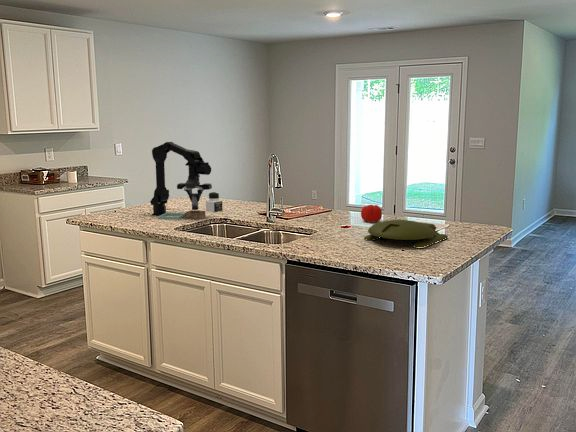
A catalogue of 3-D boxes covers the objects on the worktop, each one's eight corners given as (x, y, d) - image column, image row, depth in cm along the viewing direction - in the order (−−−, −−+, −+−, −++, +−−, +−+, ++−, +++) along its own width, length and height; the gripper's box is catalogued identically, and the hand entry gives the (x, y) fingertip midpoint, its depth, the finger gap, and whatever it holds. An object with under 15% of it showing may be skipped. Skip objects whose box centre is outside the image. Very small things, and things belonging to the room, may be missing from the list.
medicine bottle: (214, 213, 338) (213, 193, 336) (205, 212, 342) (205, 192, 340) (222, 212, 344) (222, 192, 341) (214, 210, 348) (213, 191, 346)
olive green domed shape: (392, 230, 291) (392, 212, 290) (449, 239, 272) (450, 219, 270) (355, 243, 265) (355, 222, 263) (415, 253, 246) (416, 231, 244)
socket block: (185, 220, 319) (184, 213, 318) (190, 217, 328) (190, 210, 327) (200, 220, 317) (200, 213, 317) (205, 217, 326) (205, 210, 325)
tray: (158, 220, 317) (157, 216, 316) (166, 216, 328) (166, 212, 328) (178, 221, 315) (178, 217, 314) (186, 217, 326) (186, 213, 326)
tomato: (365, 219, 320) (365, 203, 319) (385, 221, 314) (385, 205, 313) (357, 222, 311) (357, 206, 310) (377, 224, 305) (378, 207, 304)
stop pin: (191, 209, 320) (190, 194, 318) (193, 208, 323) (192, 193, 322) (197, 210, 319) (196, 194, 318) (199, 208, 323) (198, 193, 321)
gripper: (172, 175, 311) (173, 203, 314) (205, 175, 308) (206, 204, 311) (179, 173, 322) (180, 200, 325) (211, 173, 319) (212, 201, 322)
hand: (194, 201), depth 321 cm, fingers closed on stop pin, 4 cm apart
